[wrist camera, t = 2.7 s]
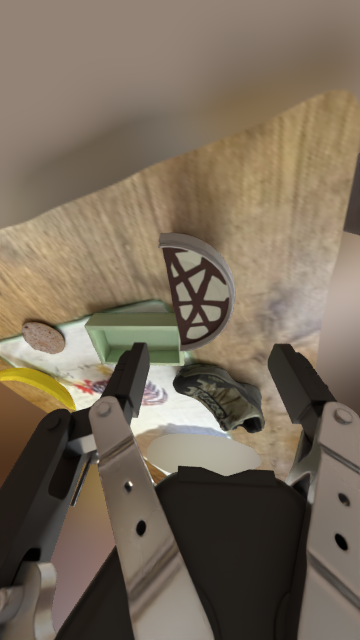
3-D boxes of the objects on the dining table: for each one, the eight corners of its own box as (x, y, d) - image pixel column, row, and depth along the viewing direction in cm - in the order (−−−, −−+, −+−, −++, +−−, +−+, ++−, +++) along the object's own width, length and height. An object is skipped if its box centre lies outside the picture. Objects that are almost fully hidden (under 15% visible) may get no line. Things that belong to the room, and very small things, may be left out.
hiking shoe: (186, 353, 34) (184, 399, 27) (271, 385, 39) (290, 432, 31) (168, 376, 39) (163, 420, 31) (247, 402, 43) (258, 446, 36)
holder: (183, 312, 28) (182, 326, 26) (184, 351, 34) (184, 366, 31) (94, 312, 29) (84, 325, 27) (109, 350, 35) (102, 364, 32)
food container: (223, 304, 27) (236, 352, 19) (183, 307, 28) (180, 355, 20) (223, 211, 20) (244, 225, 12) (170, 220, 21) (156, 238, 13)
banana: (83, 393, 45) (69, 418, 40) (0, 358, 38) (-29, 384, 33) (87, 388, 44) (74, 414, 38) (2, 352, 37) (-28, 378, 32)
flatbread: (29, 313, 30) (25, 316, 29) (72, 335, 33) (69, 339, 32) (19, 338, 34) (15, 342, 33) (58, 357, 37) (55, 360, 36)
